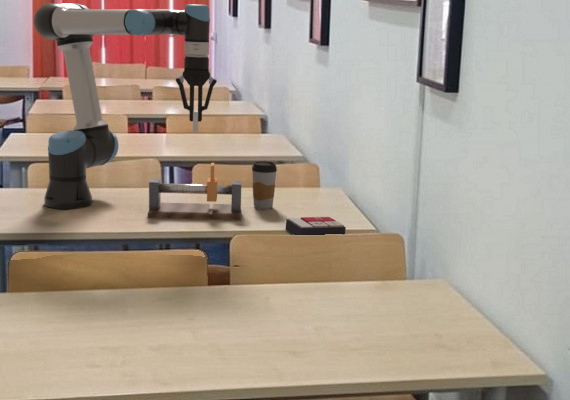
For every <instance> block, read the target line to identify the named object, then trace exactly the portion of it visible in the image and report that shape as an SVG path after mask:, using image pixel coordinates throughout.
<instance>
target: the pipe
mask: <svg viewBox="0 0 570 400" xmlns="http://www.w3.org/2000/svg"><path fill="white" fill-rule="evenodd" d="M161 194H190V195H191V194H194V195H195V194H197V195H198V194H199V195H207V184H202V183H201V184H199V183H198V184H197V183H194V184H193V183H190V184H189V183H163V182H161V178H159V177H158V178H157V177H156V178H155V177H151V178H150V179H149V181H148V211H149V210H159V208H160V203H161ZM217 195H226V196H227V195H229V196H230V195H231V203H230V204H231V212H241V213H242V211H241V209H242V180H237V179H235V180H233V179H232V180H231V184H217Z"/></svg>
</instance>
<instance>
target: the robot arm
mask: <svg viewBox="0 0 570 400" xmlns="http://www.w3.org/2000/svg"><path fill="white" fill-rule="evenodd" d="M210 16H211V15H210V7H209V5H207V4H194V3H193V4H190V3H187V4H185V6H184V9H183V10H179V9H167V8H156V9H153V8H150V9H147V8H134V9H130V8H128V9H127V8H126V9H125V8H124V9H121V8H120V9H117V8H114V9H110V8H109V9H108V8H107V9H105V8H104V9H101V8H100V9H99V8H98V9H92V8H91V9H90V8H88V6H86V5H83V4H80V3H52V2H51V3H46V4H43V5H42V6H40V7H39V8H38V9H36V11H35V13H34V16H33V24H34V26H33V27H34V28H35V30H36V32H37V33H38V34H39V36H41V37H42V38H44V39H46V40H50V41H56V45H57V48H58V49H59V50H60V51H62V53H63V56H64V62H65V69H66V73H67V78H68V84H69V89H70V95H71V101H72V105H73V110H74V116H75V122H76V124H75V126H73V129H71V130H66V131H65V130H62V131H57V132H55V133H53V134H51V135H50V136H49V138H48V146H47V151H48V152H47V153H48V155H47V156H48V157H47V158H48V175H49V178H48V179H49V181H48V185H47V188H46V191H45V195H44V200H43V201H44V206H46V207H47V208H51V209H56V210H57V209H58V210H73V209H74V210H75V209H82V208H86V207H90V206H91V205H92V204H93V196H92V193H91V190H90V187H89V185H88V181H87V169H89V168H94V167H98V166H104V165H105V164H108V163H110V162H112V161H113V160H115V157H117V155H118V151H119V140H118V137H117V136H116V134H115V133H114V132H113V131H112V130H110V128H109V124H108V123H107V121H105V120H103V115H102V110H101V103H100V99H99V93H98V88H97V83H96V78H95V71H94V66H93V61H92V55H91V50H90V48H91V46H92V45H93V44H94V39H93V37H94V36H95V35H96V36H97V35H102V36H104V35H106V36H107V35H109V36H111V35H112V36H113V35H115V36H118V35H119V36H128V35H129V36H131V35H132V36H138V37H139V36H141V37H142V36H153V35H154V36H158V35H159V36H163V35H174V36H175V35H176V36H184V54H185V56H184V63H183V64H184V65H183V66H184V69H183V72H182V75H180V76H179V77H178V76H177V77H176V78H175V82H176V84H177V85H178V89H179V92H180V93H179V94H180V97H181V101H182V107H183V108H184V110H187V111H189V119H188V120H189V122H192V133H196V134H197V133H198V132H199V123H201V122H202V120H203V112H204V111H206V110H208V109H209V108H208V107H209V104H210V101H211V98H212V97H211V96H212V93H213V89H214V87H215V85H216V84H217V82H218V81H217V79H216V78H214V77H213V76H211V73H210V71H209V70H210V57H208V56H209V55H210V24H211V23H210V22H211V18H210ZM184 80H185V81H186V83H187V84H188V86H189V103H188V99H187V94H186V89H185V86H184V83H185V81H184ZM207 82H208V84H209V86H208V90H207V94H206V98H205V102H204V105H203V86H204V85H205V84H206V83H207ZM195 87H197V110H195Z"/></svg>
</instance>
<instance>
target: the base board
mask: <svg viewBox="0 0 570 400" xmlns="http://www.w3.org/2000/svg"><path fill="white" fill-rule="evenodd" d="M241 215H242V211H241V212H231V203H228V204H227V203H225V204H224V203H199V202H198V203H197V202H196V203H192V202H191V203H189V202H160V208H159V210H149V209H148V211H147V218H148V219H179V220H180V219H181V220H182V219H183V220H184V219H187V220H219V221H221V220H222V221H223V220H224V221H225V220H226V221H227V220H229V221H241V220H242V219H241Z"/></svg>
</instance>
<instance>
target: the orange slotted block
mask: <svg viewBox="0 0 570 400" xmlns="http://www.w3.org/2000/svg"><path fill="white" fill-rule="evenodd" d="M206 181H207V182H206V185H207V194H206V202H210V203H211V202H212V203H213V202H215V203H216V202H217V200H218V194H217V185H218V177H215V162H211V163H210V176H208V177H207V180H206Z"/></svg>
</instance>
